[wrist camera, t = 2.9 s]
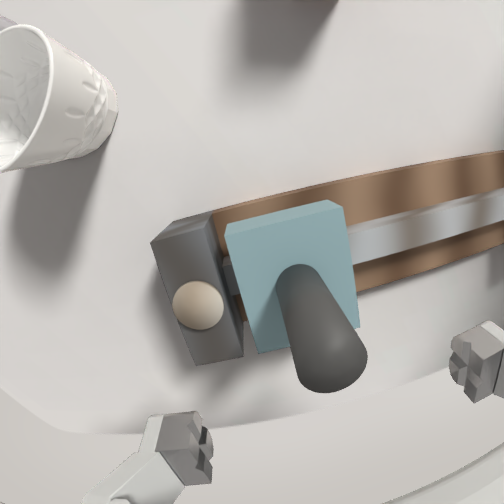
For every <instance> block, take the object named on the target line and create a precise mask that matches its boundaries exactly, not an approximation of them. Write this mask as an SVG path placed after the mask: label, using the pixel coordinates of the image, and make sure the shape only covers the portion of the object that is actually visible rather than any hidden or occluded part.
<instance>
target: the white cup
mask: <svg viewBox="0 0 504 504" xmlns="http://www.w3.org/2000/svg"><path fill="white" fill-rule="evenodd" d="M117 114H118V105H117V93H116V91H115V90H114V88H113V86H112V85H111V83H110V82H109V80H108V78H106V77H105V76H103V75H102V74H100V73H99V72H97V71H96V70H95V69H94V68H93V67H92V66H91V65H90V64H89V63H87V62H86V61H85V60H83V59H82V58H81V57H80V56H78V55H77V54H75V53H74V52H72V51H71V50H69V49H68V48H66V47H65V46H63V45H62V44H60V43H59V42H57V41H56V40H54V39H53V38H51V37H50V36H48V35H47V34H45V33H44V32H42V31H41V30H39V29H38V28H36V27H34V26H31V25H15V26H11V27H8V28H6V29H4V30H2V31H0V173H4V172H8V171H13V170H18V169H24V168H29V167H35V166H41V165H46V164H49V163H55V162H60V161H63V160H66V159H70V158H79V157H83V156H85V155H87V154H89V153H91V152H92V151H94V150H96V149H98V148H99V147H100V146H101V145H102V143H103V142H104V141H105V140H106V138H107V137H108V136H109V135H110V134H111V132H112V129H113V126H114V123H115V120H116V117H117Z"/></svg>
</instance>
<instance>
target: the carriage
mask: <svg viewBox="0 0 504 504" xmlns="http://www.w3.org/2000/svg"><path fill="white" fill-rule="evenodd" d="M224 237H225V240H226V244H227V248H228V251H229V255H230V258H231V262H232V265H233V269H234V272H235V276H236V279H237V283H238V286H239V290H240V293H241V297H242V300H243V303H244V307H245V310H246V314H247V317H248V321H249V324H250V327H251V331H252V334H253V337H254V341H255V344H256V348H257V351H258V354H260V353H265V352H269V351H273V350H278V349H282V348H286V347H290V348H291V352H292V356H293V360H294V364H295V368H296V372H297V376H298V379H299V381H300V382H301V384H302V385H303V386H304V387H306V388H307V389H309V390H311V391H314V392H318V393H331V392H336V391H339V390H342V389H344V388H346V387H348V386H350V385H351V384H352V383H354V382H355V381H356V380H357V379H358V378H359V377H360V376H361V374H362V373H363V371H364V369H365V367H366V364H367V351H366V348H365V346H364V344H363V343H362V341H361V340H360V338H359V336H358V335H357V333H356V332H355V330H354V329H356V328H359V327H360V319H359V311H358V302H357V294H356V286H355V279H354V272H353V265H352V258H351V252H350V246H349V239H348V234H347V228H346V222H345V217H344V211H343V207H342V206H340V205H338V204H336V203H334V202H332V201H330V200H323V201H319V202H314V203H310V204H306V205H302V206H298V207H293V208H289V209H285V210H281V211H277V212H273V213H269V214H265V215H261V216H257V217H253V218H249V219H245V220H241V221H237V222H233V223H229V224H227V226H226V231H225V235H224Z"/></svg>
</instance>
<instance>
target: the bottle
mask: <svg viewBox="0 0 504 504" xmlns="http://www.w3.org/2000/svg"><path fill="white" fill-rule="evenodd" d="M15 25H19V24H17V23H16V22H14V21H12V20H10V19H8V18H6V17H4V16H1V15H0V31H2V30H4V29H6V28H8V27H11V26H15Z"/></svg>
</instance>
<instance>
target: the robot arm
mask: <svg viewBox="0 0 504 504" xmlns="http://www.w3.org/2000/svg"><path fill="white" fill-rule="evenodd" d="M451 349H452V350H453V351H454V352H453V354H452V356H451V357H450V360H449V369H450V373H451V376H452V378H453V380H454V381H455V382H456V383H457V384H459V385H462V386H464V392H465V394H466V395H467V396H468V397H469V398H470V400H471V401H472V402H473V403H476V402H478V401H479V400H481V399H483V398H485V397H487V396H489V395H491V394H492V393H494V395H497V396H500V397H502V398H504V330H503V329H501V328H500V327H499V326H497V325H496V324H495V323H493V322H492V321H489V320H487V321H485V322H483V323H481V324H479V325H477V326H476V327H474V328H472V329H469V330H467V331H465V332H463V333H461V334H459V335H457V336H455V337H453V339H452V341H451ZM212 457H213V443H212V438H211V436H210V433H209V431H208V429H207V428H205V427H203V426H202V418H201V416H200V414H199V412H197V411H191V412H182V413H171V414H164V415H151V416H150V417H149V418H148V421H147V425H146V428H145V431H144V434H143V438H142V441H141V444H140V448H139V451H138V453H133V454H132V455H131V456H130V457H128V458H127V459H126V460H125V461H124V462H123V463H122V464H120V465H119V466H118V467H117V468H116V469H115V470H113V471H112V472H111V473H110V474H109V475H108V476H106V477H105V478H104V479H103V480H102V481H100V482H99V483H98V484H97V485H96V486H94V487H93V488H92V489H91V490H90V491H88V492H87V493H86V494H85V496H84V499H83V501H82V504H173V503H174V501H175V500H176V499H177V497H178V496H179V495H180V493H181V492H182V491H183V489H184V488H185V486H188V485H199V484H209V483H211V480H212V466H211V464H210V462H209V460H210V459H211V458H212ZM0 504H4V503H2V502H0ZM383 504H504V443H502V444H501V445H499V446H498V447H496V448H495V449H493V450H491V451H490V452H488V453H487V454H485V455H483V456H482V457H480V458H479V459H477V460H475V461H473V462H471V463H470V464H468V465H466V466H464V467H463V468H461V469H459V470H457V471H455V472H453V473H451V474H449V475H447V476H446V477H444V478H441V479H439V480H437V481H435V482H433V483H431V484H429V485H427V486H425V487H422V488H420V489H418V490H415V491H413V492H411V493H408V494H406V495H404V496H401V497H398V498H396V499H393V500H391V501H388V502H385V503H383Z"/></svg>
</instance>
